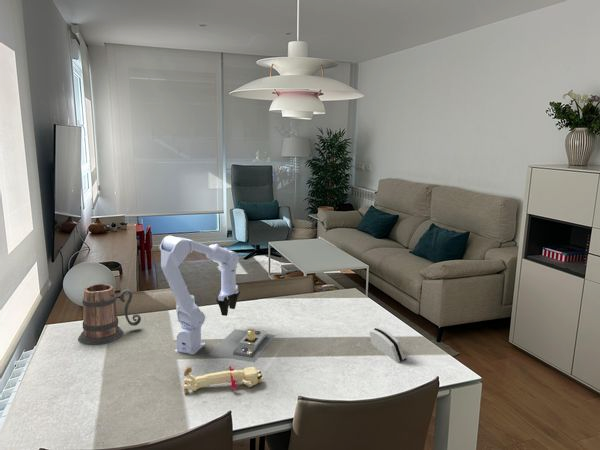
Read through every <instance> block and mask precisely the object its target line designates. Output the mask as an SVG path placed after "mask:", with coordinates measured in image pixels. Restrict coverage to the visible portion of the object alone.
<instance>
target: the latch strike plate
mask: <svg viewBox="0 0 600 450" xmlns="http://www.w3.org/2000/svg"><path fill="white" fill-rule="evenodd" d="M254 330H255V343H252V342H247V334H246V335H245V336H244V337H243V338H242V339H241V341H240V342H239V346H238V347H237V348H236V349H235V350H234V351H233V355H239V356H246V357H252V355H253V354H254V353H255V352H256V351H257V349H258V348H259V347H260V346H261V345H262V343H263V342H264V341H265V340H266V338H267V335H268V334H269V332H268V331H266V330H265V331H264V330H260V329H254Z"/></svg>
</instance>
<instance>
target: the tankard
mask: <svg viewBox="0 0 600 450" xmlns="http://www.w3.org/2000/svg"><path fill="white" fill-rule="evenodd" d="M83 292H84V293H83V297H82V305H83V306H82V307H83V308H82V314H83V318H82V319H83V321H82V329H83V331H82V332H80V335H79V336H78V337H77V342H78V343H79V344H80V345H81V344H82V345H85V346H91V347H92V346H103V345H108V344H112V343H115V342H117V341H119V340H120V339H122V338H123V336H124V335H125V332H124V330H122V328H121V327H120V326H119V318H118V312H117V304H116V303H117V302H116V300H117V299H119V300H120V301H121V302H122V303H125V302H126V303H125V305H124V317H125V319H126V322H127V323H128V324H129V326H131V327H132V326H133V327H135V326H137V325H139V324H140V323H141V321H142V318H141V315H140V314H139V313H135V314H133V315H132V320H133V321H131V320H130V319H129V315H128V309H129V306H130V303H131V301H132V299H133V293H132V291H131V290H130V289H122V290H121V292H120V293H119V294H118V295H116V294H115V290H114V287H113V285H111V284H105V283H96V284H93V285H90V286H88V287H86V288H84V291H83ZM126 293H127V294H128V293H129V296H128V299H127V301H126V300H125V294H126Z"/></svg>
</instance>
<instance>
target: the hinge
mask: <svg viewBox="0 0 600 450" xmlns="http://www.w3.org/2000/svg"><path fill="white" fill-rule="evenodd" d="M369 337H370V341H371V342H370V343H371V345H372V346H374V347H375V348H377V349H378V350H379V351H380V352H382V353H383V354H385V355H386V356H387V357H389V358H390V359H391V360H393V361H394V362H395V363H397V364H398V363H400V362H401V361H402V360H403V361H404V360H405V361H409V359H408V356H407V355H406V354H405V353H404V351H403V348H402V345H401V342H400V341H399V340H398V339H397V338H396V337H395V336H394V335H393V334H392V333H390V332H389V331H388V330H386V329H384V328H382V327H379V326H377V327H374V329H371V330H370V331H369Z"/></svg>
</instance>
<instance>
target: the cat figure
mask: <svg viewBox="0 0 600 450" xmlns="http://www.w3.org/2000/svg"><path fill="white" fill-rule="evenodd" d="M192 369H193V368H192V367H191V366H187V367H186V368H185V369H184V372H183V376H184V377H185V378H184V379H183V381H184V384H183V391H184V394H189V391H192V392H195V391H197V390H198V389H201V388H203V387H210V386H212V385H216V384H222V383H231V391H234V390H235V389H237V388H238V387H237V386H238V385H237V383H238V382H242V384H244V385H245V386H247V388H252V387H253V386H255V385H258V383H261V382H263V380H265V379H264V378H263V377H264V375H262V371H261V370H260V369H256V367H255V366H250V367H249V366H248V367H244V369H235V368H233V367H232V366H231V365H228V369H229V370H223V371H217V372H211V373H206V374H204V375H203V374H202V375H197V376H194V375H192V374H191V372H192V371H193V370H192ZM189 384H190V385H189Z"/></svg>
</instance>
